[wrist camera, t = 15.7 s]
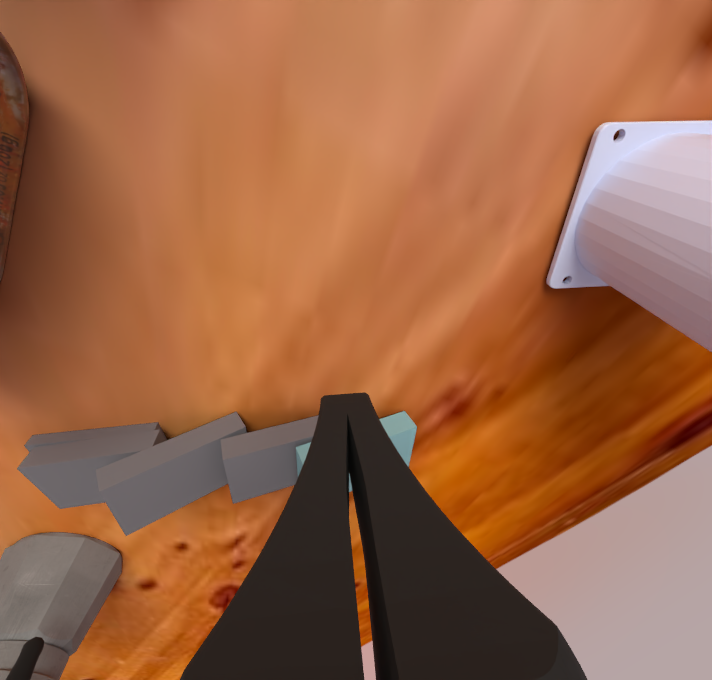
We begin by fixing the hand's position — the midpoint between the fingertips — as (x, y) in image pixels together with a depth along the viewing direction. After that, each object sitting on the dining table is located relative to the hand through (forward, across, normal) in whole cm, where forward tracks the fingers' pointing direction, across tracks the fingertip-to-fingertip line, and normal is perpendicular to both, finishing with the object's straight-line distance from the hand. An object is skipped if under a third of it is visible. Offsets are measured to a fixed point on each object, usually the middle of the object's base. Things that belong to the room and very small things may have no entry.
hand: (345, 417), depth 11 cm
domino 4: (+8, +11, +12) cm, 18 cm away
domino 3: (+9, +6, +12) cm, 16 cm away
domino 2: (+9, 0, +12) cm, 15 cm away
